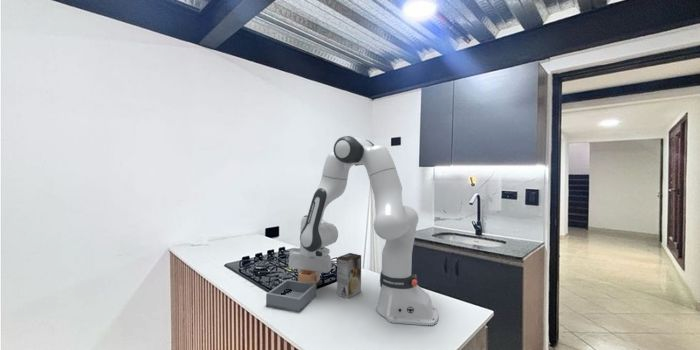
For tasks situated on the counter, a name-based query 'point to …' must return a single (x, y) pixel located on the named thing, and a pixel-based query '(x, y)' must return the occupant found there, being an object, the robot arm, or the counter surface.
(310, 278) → the orange crate
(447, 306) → the counter surface
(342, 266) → the coffee box
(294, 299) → the grey crate
